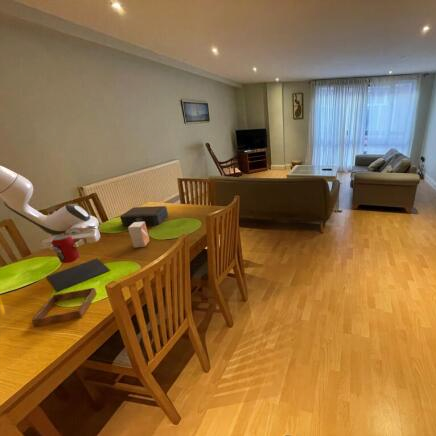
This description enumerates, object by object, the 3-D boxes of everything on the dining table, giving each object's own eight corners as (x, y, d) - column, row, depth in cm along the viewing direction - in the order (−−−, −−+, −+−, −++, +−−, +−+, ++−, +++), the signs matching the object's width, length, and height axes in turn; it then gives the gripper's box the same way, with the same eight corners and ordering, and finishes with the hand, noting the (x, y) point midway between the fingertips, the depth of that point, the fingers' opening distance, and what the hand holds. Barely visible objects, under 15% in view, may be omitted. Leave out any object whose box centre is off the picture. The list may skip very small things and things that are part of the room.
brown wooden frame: (34, 327, 86) (31, 320, 85) (56, 301, 99) (53, 294, 97) (82, 317, 90) (79, 310, 89) (96, 293, 103) (94, 287, 102)
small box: (145, 246, 141) (139, 226, 136) (133, 247, 140) (127, 227, 135) (150, 240, 148) (145, 221, 143) (138, 241, 147) (133, 222, 142)
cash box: (121, 227, 167) (118, 216, 164) (135, 216, 186) (132, 207, 183) (159, 225, 170) (156, 215, 167) (169, 214, 188) (167, 205, 186)
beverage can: (60, 260, 110) (50, 236, 105) (79, 254, 114) (70, 232, 109) (60, 266, 105) (49, 242, 100) (80, 260, 109) (70, 237, 104)
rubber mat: (57, 292, 104) (56, 291, 104) (47, 277, 114) (46, 276, 114) (110, 270, 119) (109, 269, 119) (97, 259, 129) (96, 258, 128)
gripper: (49, 231, 114) (31, 244, 101) (100, 225, 120) (88, 237, 107) (54, 243, 116) (37, 257, 104) (104, 236, 122) (93, 249, 110)
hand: (63, 247), depth 106 cm, fingers closed on beverage can, 6 cm apart
